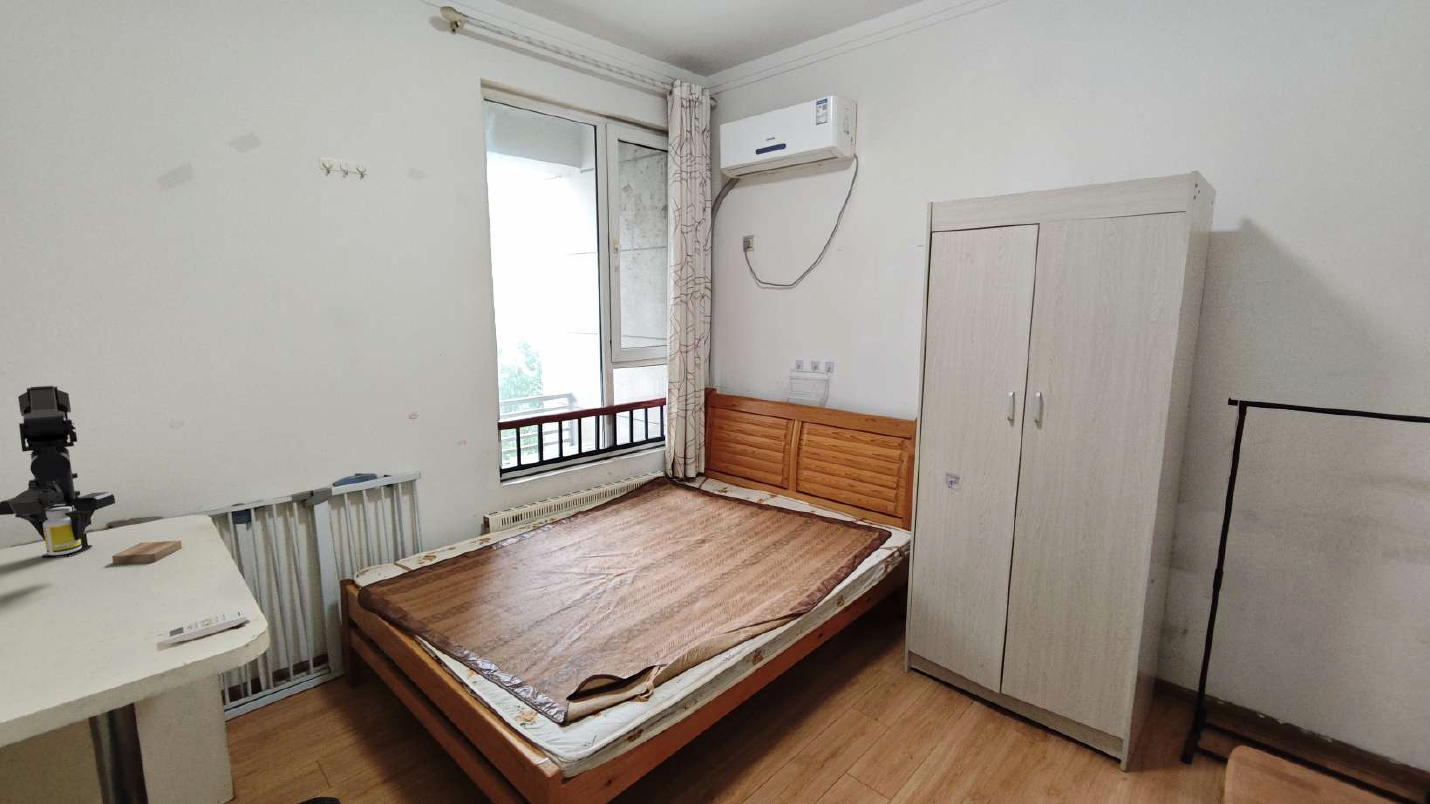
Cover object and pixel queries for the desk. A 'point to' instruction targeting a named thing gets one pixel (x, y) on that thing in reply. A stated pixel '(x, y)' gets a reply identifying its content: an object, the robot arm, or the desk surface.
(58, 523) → the supplement bottle
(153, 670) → the desk surface
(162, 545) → the base plate
